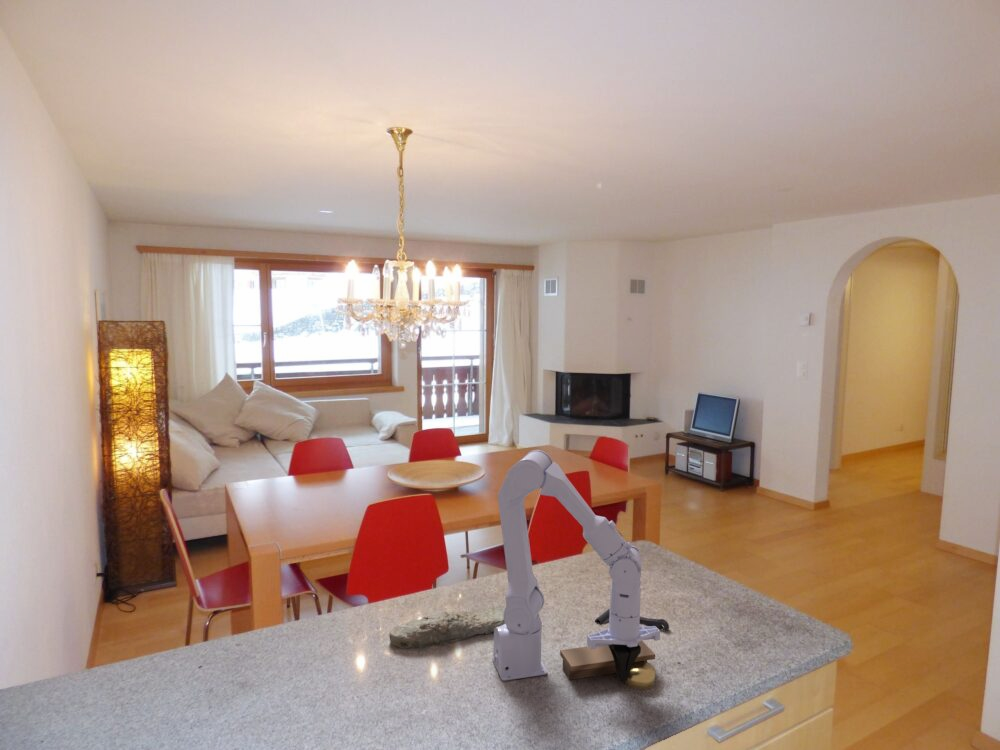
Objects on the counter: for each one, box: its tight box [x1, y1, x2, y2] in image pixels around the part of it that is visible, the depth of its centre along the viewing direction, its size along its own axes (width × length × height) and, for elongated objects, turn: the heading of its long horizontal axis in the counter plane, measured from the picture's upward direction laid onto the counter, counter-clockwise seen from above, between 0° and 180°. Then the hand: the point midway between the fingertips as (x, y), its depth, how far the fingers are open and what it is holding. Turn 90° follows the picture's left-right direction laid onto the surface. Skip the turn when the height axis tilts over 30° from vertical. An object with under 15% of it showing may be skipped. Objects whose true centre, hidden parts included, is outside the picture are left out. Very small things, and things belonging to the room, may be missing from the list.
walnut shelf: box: [559, 640, 656, 680], centre depth 124 cm, size 18×6×4 cm, turn 105°
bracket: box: [594, 608, 670, 632], centre depth 145 cm, size 14×15×3 cm
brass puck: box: [623, 661, 656, 690], centre depth 121 cm, size 6×6×2 cm
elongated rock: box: [388, 605, 506, 649], centre depth 139 cm, size 35×5×10 cm
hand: (622, 678), depth 120 cm, fingers closed
